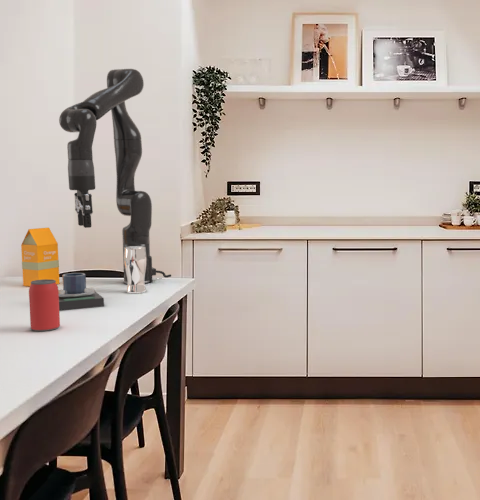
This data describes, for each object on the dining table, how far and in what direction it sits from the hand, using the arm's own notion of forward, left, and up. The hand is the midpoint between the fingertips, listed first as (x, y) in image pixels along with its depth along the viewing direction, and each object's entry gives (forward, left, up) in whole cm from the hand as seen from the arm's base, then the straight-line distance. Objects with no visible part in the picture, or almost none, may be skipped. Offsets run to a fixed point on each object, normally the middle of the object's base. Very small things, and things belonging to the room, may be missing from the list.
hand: (84, 226), depth 193 cm
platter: (+5, +10, -19) cm, 22 cm away
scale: (+5, +11, -22) cm, 26 cm away
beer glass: (-15, -1, -23) cm, 27 cm away
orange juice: (+10, -32, -23) cm, 40 cm away
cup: (+5, +10, -19) cm, 22 cm away
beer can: (+17, +40, -23) cm, 49 cm away
